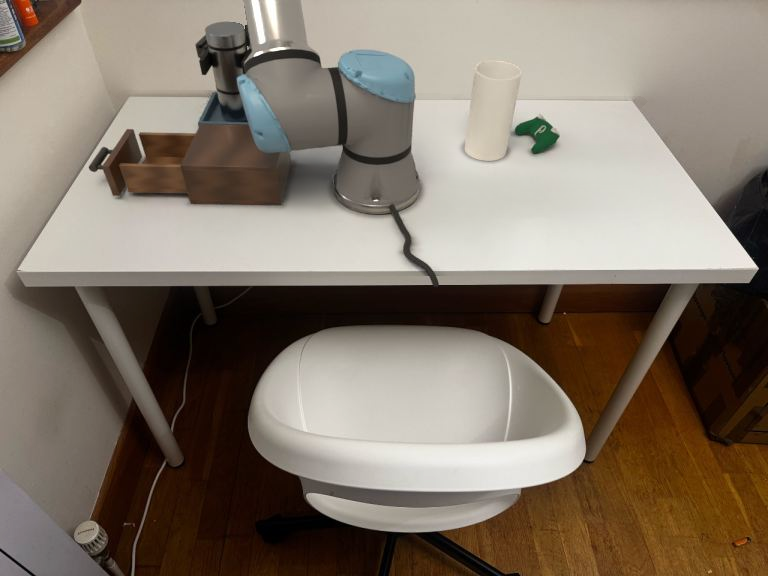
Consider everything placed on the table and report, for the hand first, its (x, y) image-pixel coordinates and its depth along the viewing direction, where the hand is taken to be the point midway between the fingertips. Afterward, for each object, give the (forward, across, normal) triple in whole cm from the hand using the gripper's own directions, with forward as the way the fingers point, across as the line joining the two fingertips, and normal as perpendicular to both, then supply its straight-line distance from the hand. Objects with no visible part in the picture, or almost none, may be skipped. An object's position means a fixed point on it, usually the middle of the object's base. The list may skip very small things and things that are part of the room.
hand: (223, 68), depth 106 cm
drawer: (+19, +10, -12) cm, 24 cm away
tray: (-5, 0, -13) cm, 14 cm away
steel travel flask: (-5, 0, -12) cm, 13 cm away
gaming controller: (0, -61, -13) cm, 62 cm away
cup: (+4, -51, -13) cm, 52 cm away
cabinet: (+18, -6, -13) cm, 23 cm away
